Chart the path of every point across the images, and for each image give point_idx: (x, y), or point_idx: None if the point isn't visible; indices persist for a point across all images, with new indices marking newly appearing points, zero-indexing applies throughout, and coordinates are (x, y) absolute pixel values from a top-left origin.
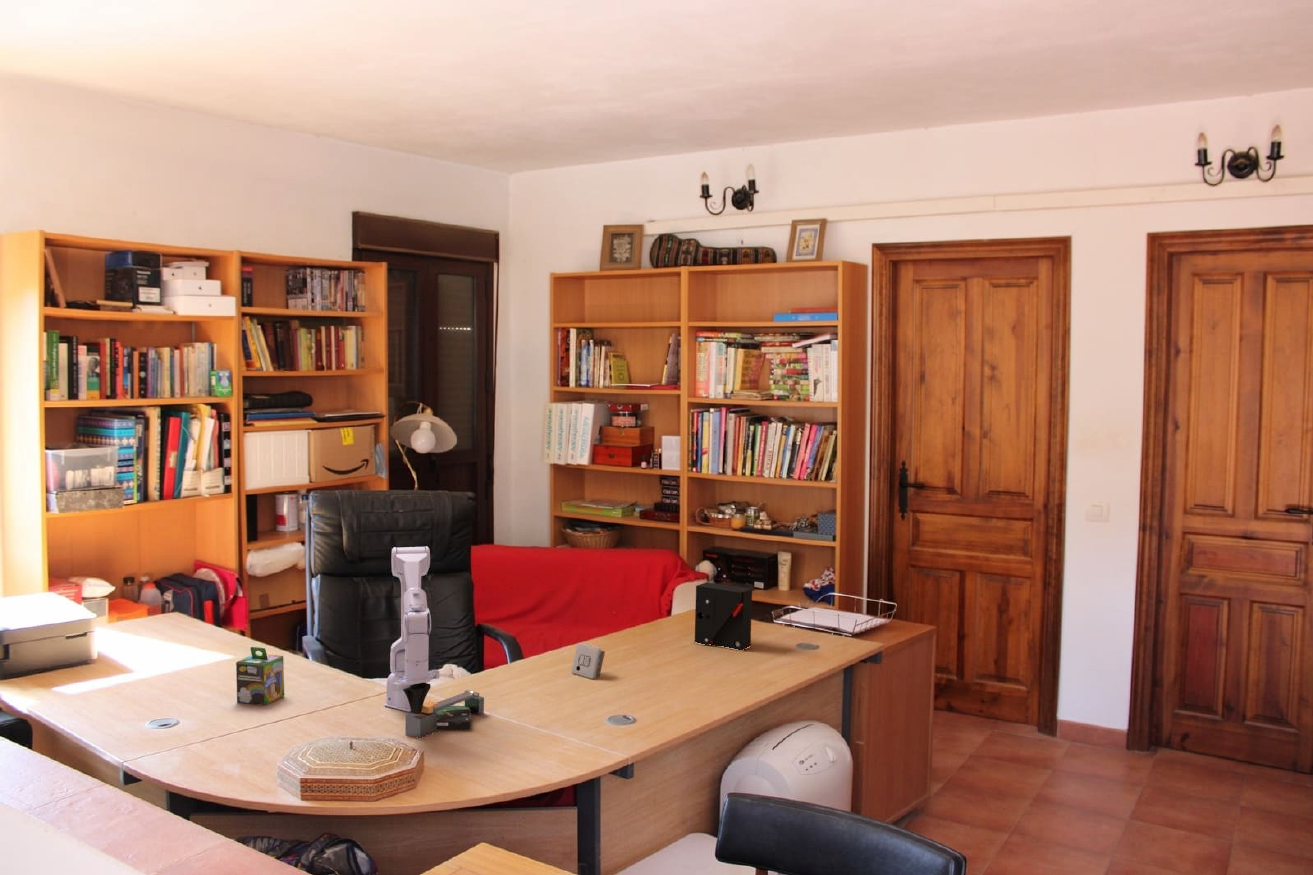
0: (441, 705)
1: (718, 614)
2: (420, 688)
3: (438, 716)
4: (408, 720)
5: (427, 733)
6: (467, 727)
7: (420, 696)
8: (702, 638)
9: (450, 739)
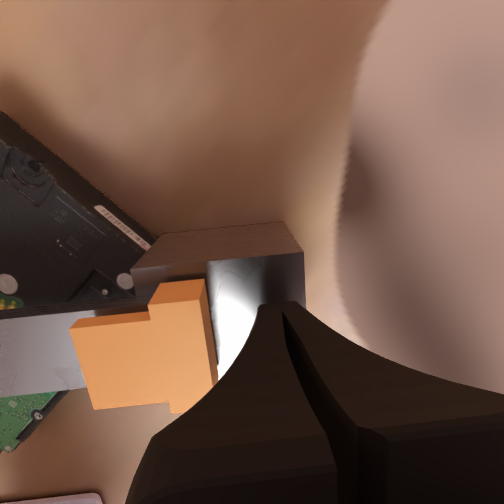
0: (37, 327)
1: None
2: (432, 468)
3: None
4: None
5: (230, 230)
6: (7, 123)
7: (340, 369)
8: None
9: (182, 88)
